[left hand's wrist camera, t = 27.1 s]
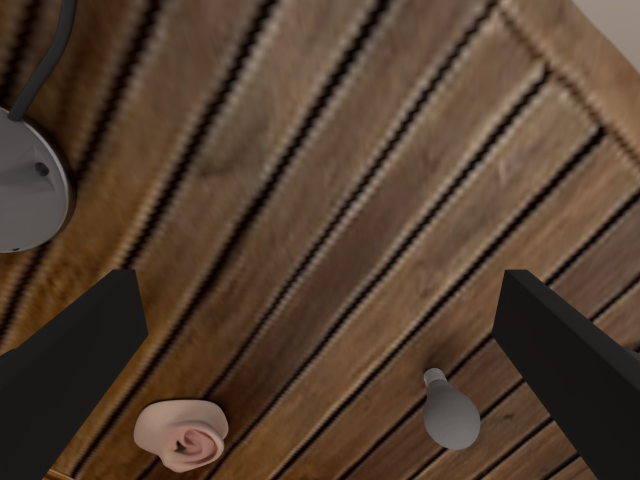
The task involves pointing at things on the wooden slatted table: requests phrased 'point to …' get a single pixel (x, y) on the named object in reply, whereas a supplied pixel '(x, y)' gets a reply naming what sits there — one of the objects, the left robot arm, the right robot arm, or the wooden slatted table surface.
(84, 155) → the wooden slatted table surface
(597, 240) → the wooden slatted table surface
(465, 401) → the light bulb
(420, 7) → the wooden slatted table surface
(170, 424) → the anatomical model
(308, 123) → the wooden slatted table surface
